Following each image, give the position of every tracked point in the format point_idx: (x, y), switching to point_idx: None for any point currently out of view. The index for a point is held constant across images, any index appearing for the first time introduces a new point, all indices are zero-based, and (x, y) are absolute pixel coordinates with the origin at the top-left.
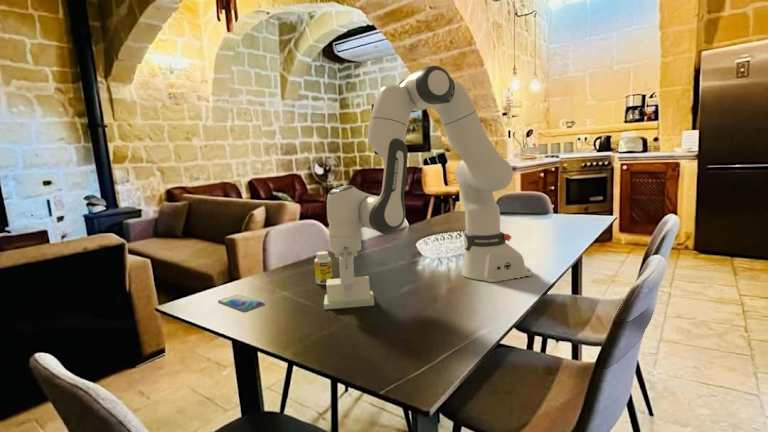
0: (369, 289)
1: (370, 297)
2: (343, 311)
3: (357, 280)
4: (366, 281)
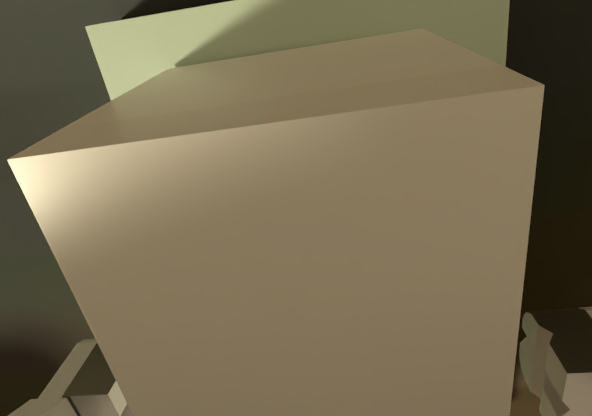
0: (462, 53)
1: (376, 29)
2: (564, 286)
3: (359, 371)
4: (502, 172)
